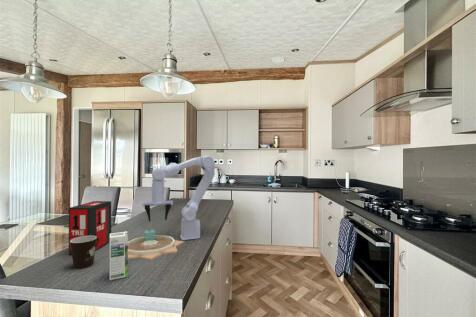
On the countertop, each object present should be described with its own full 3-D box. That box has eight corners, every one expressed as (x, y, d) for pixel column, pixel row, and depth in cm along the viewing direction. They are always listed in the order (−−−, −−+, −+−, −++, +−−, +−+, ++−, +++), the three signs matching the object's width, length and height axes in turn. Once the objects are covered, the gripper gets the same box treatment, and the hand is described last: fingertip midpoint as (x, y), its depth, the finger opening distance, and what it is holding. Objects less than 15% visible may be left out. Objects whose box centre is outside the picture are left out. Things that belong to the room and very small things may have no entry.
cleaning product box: (89, 255, 101) (89, 208, 101) (68, 254, 101) (68, 207, 102) (111, 241, 118) (111, 201, 118) (93, 241, 118) (93, 201, 118)
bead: (154, 239, 119) (154, 229, 119) (154, 242, 114) (154, 231, 114) (144, 240, 117) (144, 230, 117) (144, 243, 113) (144, 232, 113)
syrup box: (109, 281, 79) (109, 237, 79) (109, 273, 85) (109, 232, 85) (128, 277, 82) (128, 234, 82) (127, 270, 87) (127, 230, 87)
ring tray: (179, 234, 129) (179, 229, 130) (189, 254, 101) (189, 249, 101) (116, 241, 118) (116, 236, 118) (108, 267, 90) (108, 260, 90)
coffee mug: (76, 272, 85) (76, 244, 86) (65, 266, 90) (65, 240, 90) (108, 260, 95) (108, 235, 95) (97, 256, 100) (97, 232, 100)
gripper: (142, 194, 112) (142, 223, 112) (174, 193, 118) (173, 220, 118) (142, 192, 119) (142, 219, 119) (172, 191, 124) (172, 217, 124)
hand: (157, 220), depth 119 cm, fingers open, 7 cm apart
